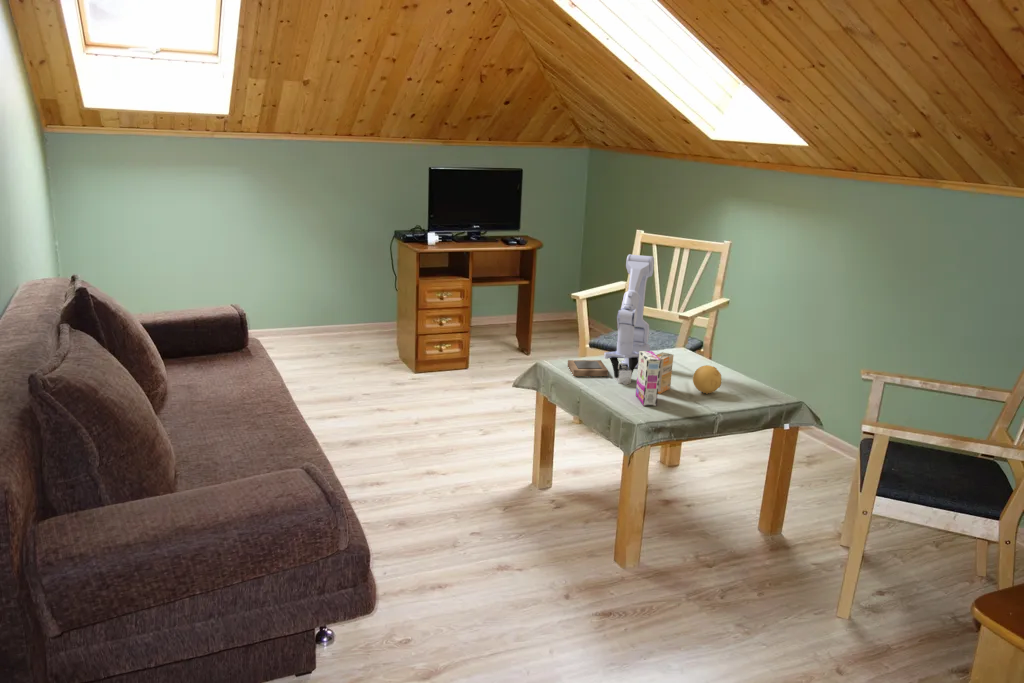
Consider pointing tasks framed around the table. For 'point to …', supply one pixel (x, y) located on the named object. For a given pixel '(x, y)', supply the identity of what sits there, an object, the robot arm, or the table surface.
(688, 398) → the table surface
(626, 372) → the housing
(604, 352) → the robot arm
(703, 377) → the stress ball
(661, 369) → the supplement box
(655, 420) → the table surface
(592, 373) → the stand
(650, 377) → the candy bar box
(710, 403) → the table surface
